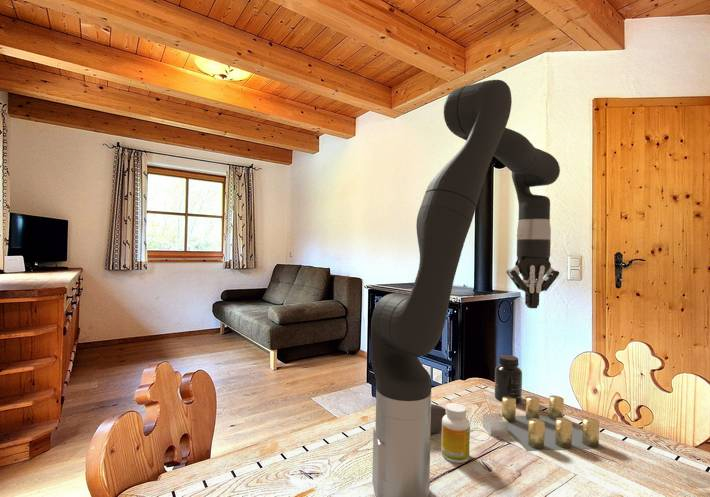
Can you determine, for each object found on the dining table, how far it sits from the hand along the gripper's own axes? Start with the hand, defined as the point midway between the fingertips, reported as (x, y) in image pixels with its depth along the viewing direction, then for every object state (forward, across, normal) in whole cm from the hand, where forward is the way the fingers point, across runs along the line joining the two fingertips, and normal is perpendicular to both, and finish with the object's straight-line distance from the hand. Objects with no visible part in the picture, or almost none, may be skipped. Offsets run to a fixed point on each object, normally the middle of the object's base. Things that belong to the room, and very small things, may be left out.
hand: (532, 307), depth 90 cm
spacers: (+27, -1, -8) cm, 28 cm away
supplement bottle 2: (+27, -1, +9) cm, 29 cm away
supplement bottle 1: (+27, -25, -16) cm, 40 cm away
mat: (+27, -4, -8) cm, 29 cm away
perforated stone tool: (+27, -30, -7) cm, 41 cm away
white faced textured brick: (+26, -13, -8) cm, 30 cm away
